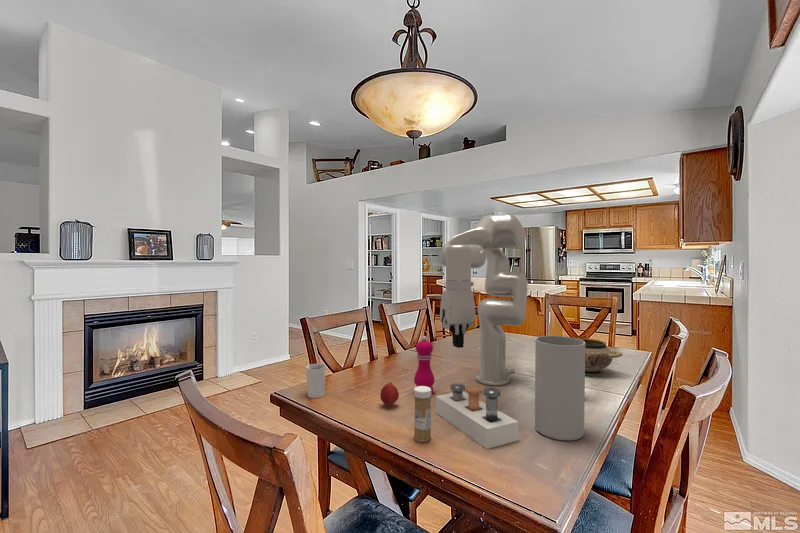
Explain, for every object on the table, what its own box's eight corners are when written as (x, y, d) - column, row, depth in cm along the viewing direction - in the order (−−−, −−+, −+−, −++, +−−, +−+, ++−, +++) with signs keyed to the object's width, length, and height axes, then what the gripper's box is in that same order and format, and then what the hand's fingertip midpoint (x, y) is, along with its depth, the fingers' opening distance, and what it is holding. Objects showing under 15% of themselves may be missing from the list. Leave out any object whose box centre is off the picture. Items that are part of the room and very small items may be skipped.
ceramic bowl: (623, 380, 158) (625, 343, 160) (618, 380, 143) (620, 339, 146) (560, 370, 172) (562, 336, 174) (550, 369, 158) (552, 332, 160)
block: (463, 406, 123) (463, 391, 123) (518, 440, 100) (518, 421, 100) (435, 412, 119) (435, 396, 119) (487, 448, 96) (487, 429, 96)
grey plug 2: (493, 415, 105) (493, 386, 105) (503, 422, 101) (504, 391, 101) (479, 418, 103) (480, 389, 103) (490, 425, 99) (490, 394, 99)
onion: (385, 411, 120) (385, 385, 119) (377, 404, 125) (377, 380, 124) (401, 407, 122) (401, 382, 122) (393, 401, 127) (393, 377, 127)
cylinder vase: (559, 445, 98) (560, 347, 97) (525, 425, 109) (525, 338, 108) (594, 436, 103) (596, 343, 102) (558, 418, 114) (559, 334, 113)
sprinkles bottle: (410, 439, 101) (410, 388, 101) (420, 433, 105) (420, 384, 104) (424, 444, 98) (424, 392, 98) (434, 438, 102) (434, 387, 101)
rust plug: (475, 411, 112) (475, 384, 112) (484, 417, 108) (484, 389, 108) (462, 414, 110) (462, 386, 110) (471, 420, 106) (471, 391, 106)
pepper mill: (433, 397, 131) (433, 338, 131) (412, 395, 133) (412, 337, 132) (435, 389, 139) (435, 334, 138) (415, 388, 140) (415, 333, 139)
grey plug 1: (459, 408, 120) (459, 382, 119) (468, 413, 116) (468, 387, 115) (447, 410, 118) (447, 384, 118) (455, 416, 114) (455, 389, 114)
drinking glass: (316, 390, 138) (316, 362, 138) (329, 394, 134) (329, 365, 134) (302, 395, 133) (301, 367, 132) (315, 399, 129) (315, 370, 129)
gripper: (471, 284, 122) (471, 341, 123) (430, 286, 116) (430, 346, 116) (486, 286, 115) (486, 346, 116) (443, 288, 109) (443, 352, 110)
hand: (458, 346), depth 116 cm, fingers closed
